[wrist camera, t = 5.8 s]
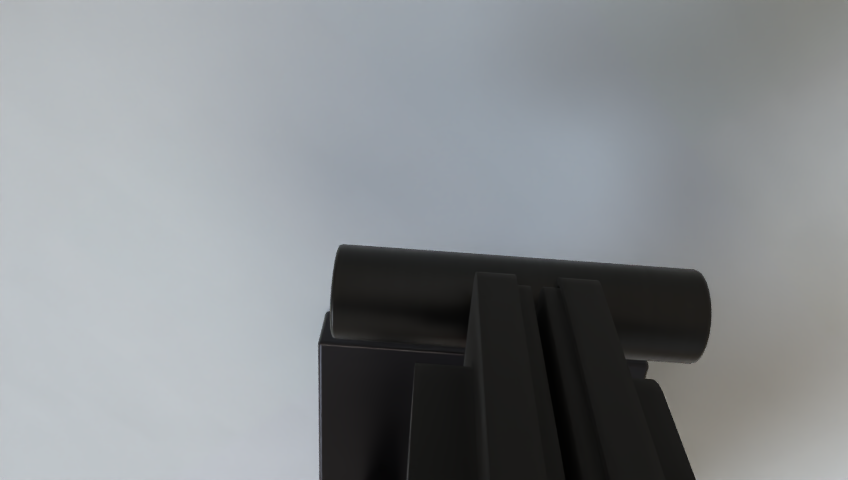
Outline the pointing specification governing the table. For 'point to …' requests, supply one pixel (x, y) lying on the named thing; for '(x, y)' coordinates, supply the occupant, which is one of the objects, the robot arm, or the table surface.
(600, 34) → the table surface
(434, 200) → the table surface
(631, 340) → the red lever handle
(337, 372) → the black lever base
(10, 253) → the table surface
